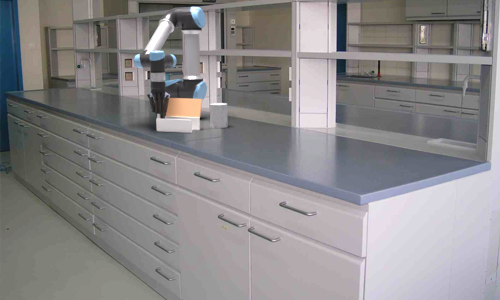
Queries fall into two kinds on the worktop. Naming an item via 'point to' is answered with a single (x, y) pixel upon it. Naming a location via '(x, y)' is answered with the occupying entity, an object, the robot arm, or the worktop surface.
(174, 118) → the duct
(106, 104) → the worktop surface
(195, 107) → the duct cover
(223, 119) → the grey concrete cylinder
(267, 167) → the worktop surface
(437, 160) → the worktop surface
